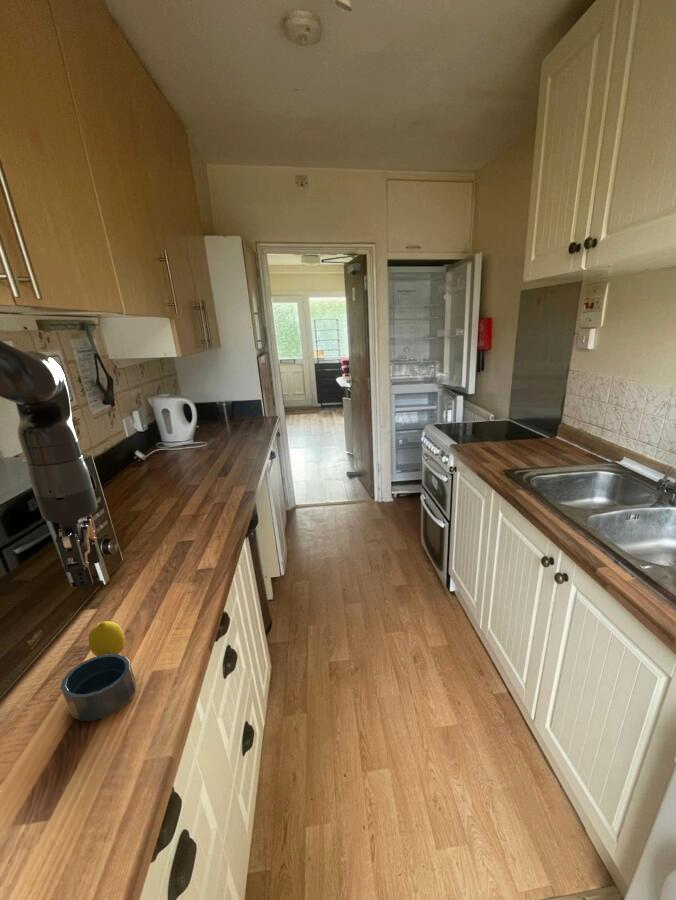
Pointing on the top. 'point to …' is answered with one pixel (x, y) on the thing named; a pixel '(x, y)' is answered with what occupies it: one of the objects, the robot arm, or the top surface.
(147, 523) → the top surface
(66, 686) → the bowl
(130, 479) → the top surface
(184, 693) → the top surface
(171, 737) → the top surface
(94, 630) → the lemon
